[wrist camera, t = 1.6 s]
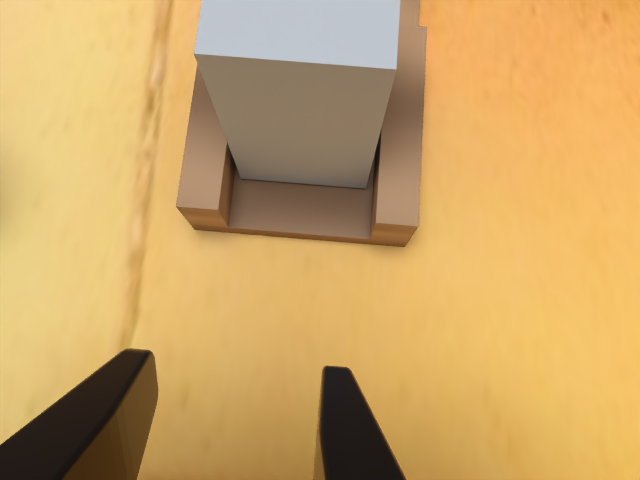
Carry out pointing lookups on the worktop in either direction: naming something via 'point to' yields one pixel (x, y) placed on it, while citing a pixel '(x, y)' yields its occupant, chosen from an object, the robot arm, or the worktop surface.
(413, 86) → the tan cradle
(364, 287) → the worktop surface
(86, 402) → the robot arm
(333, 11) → the block
